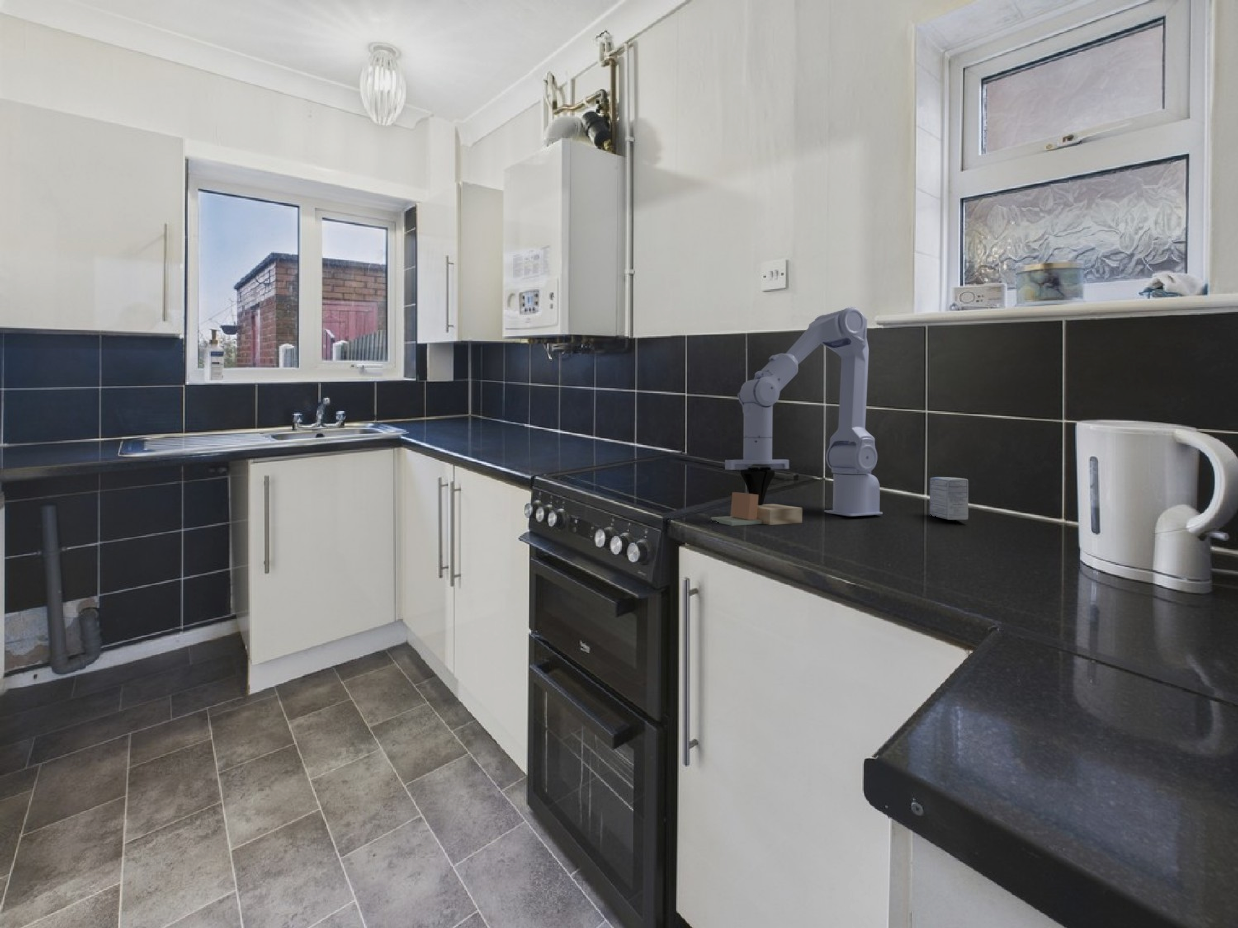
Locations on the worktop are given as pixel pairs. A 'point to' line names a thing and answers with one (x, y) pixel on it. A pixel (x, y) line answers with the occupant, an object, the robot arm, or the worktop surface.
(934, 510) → the medicine box
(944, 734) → the worktop surface
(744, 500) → the terracotta block
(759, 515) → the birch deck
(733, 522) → the sage mat
